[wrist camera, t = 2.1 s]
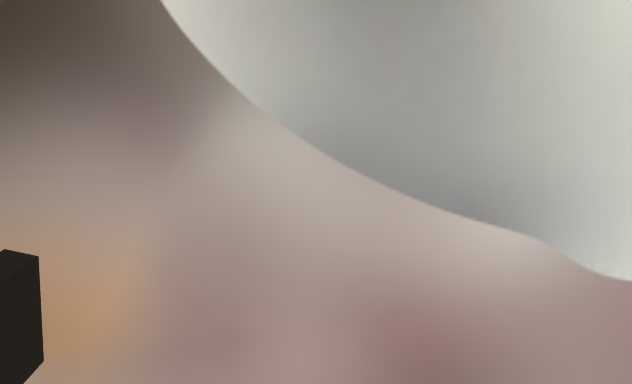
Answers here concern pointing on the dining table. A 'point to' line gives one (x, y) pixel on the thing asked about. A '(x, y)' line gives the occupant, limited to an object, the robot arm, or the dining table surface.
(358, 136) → the dining table surface
